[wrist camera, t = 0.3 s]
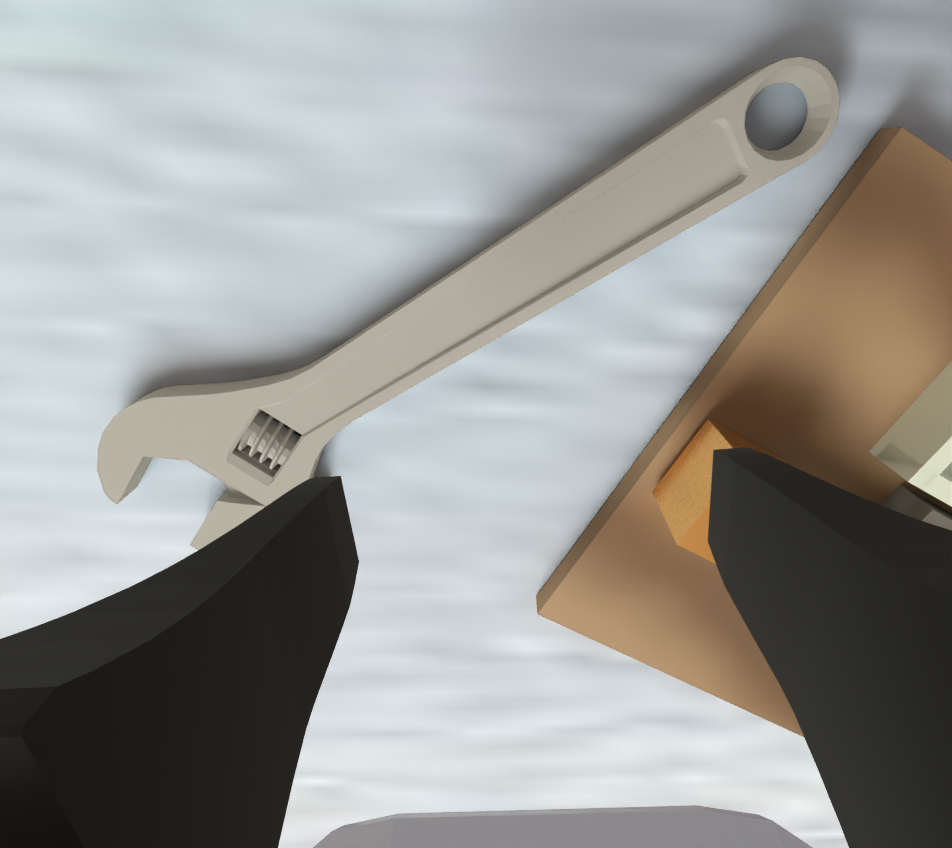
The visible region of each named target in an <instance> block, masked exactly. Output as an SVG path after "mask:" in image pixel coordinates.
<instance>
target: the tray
mask: <svg viewBox="0 0 952 848" xmlns="http://www.w3.org/2000/svg"><path fill="white" fill-rule="evenodd" d="M869 452H870V453H871V454H872V455H874V456H875V457H876V458H878V459H879V460H880V461H881V462H883V463H884V464H885V465H887V466H888V467H889V468H891V469H892V470H893V471H894V472H896V473H897V474H898V475H900V476H901V477H902V478H904V479H905V480H906V481H907V482H909V483H911V484H913V485H914V486H916V487H918V488H920V489H921V490H923V491H925V492H927V493H928V494H930V495H932V496H934V497H935V498H937V499H939V500H941V501H943V502H944V503H946V504H948V505H950V506H951V507H952V361H951V362H950V363H949V364H948V365H947V366H946V367H945V369H944V370H943V371H942V372H941V373H940V374H939V375H938V376H937V377H936V378H935V380H934V381H933V382H932V383H931V384H930V385H929V386H928V387H927V388H926V389H925V390H924V392H923V393H922V394H921V395H920V396H919V397H918V398H917V399H916V400H915V401H914V403H913V404H912V405H911V406H910V407H909V408H908V409H907V410H906V411H905V412H904V414H903V415H902V416H901V417H900V418H899V419H898V420H897V421H896V422H895V423H894V424H893V426H892V427H891V428H890V429H889V430H888V431H887V432H886V433H885V434H884V435H883V437H882V438H881V439H880V440H879V441H878V442H877V443H876V444H875V445H874V446H873V447H872V449H871V450H870V451H869Z"/></svg>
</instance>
